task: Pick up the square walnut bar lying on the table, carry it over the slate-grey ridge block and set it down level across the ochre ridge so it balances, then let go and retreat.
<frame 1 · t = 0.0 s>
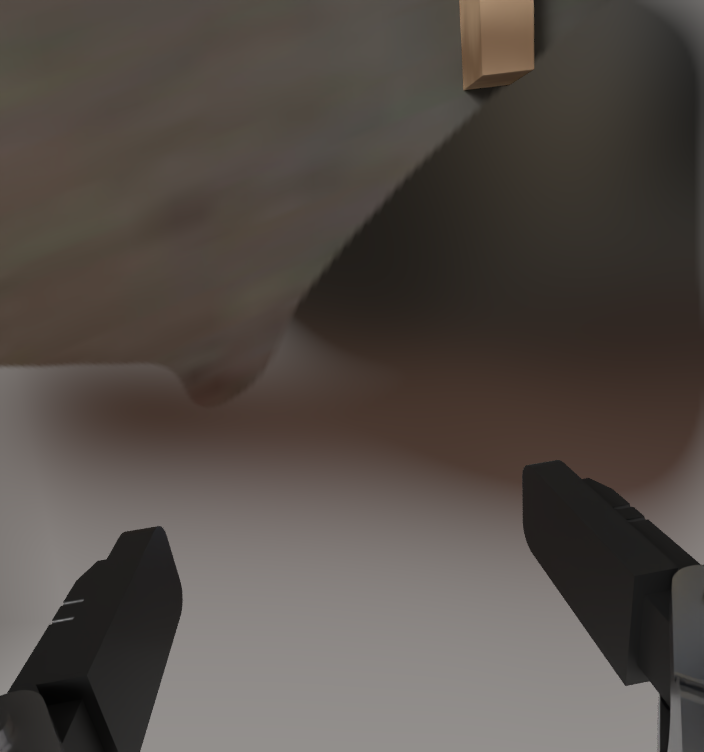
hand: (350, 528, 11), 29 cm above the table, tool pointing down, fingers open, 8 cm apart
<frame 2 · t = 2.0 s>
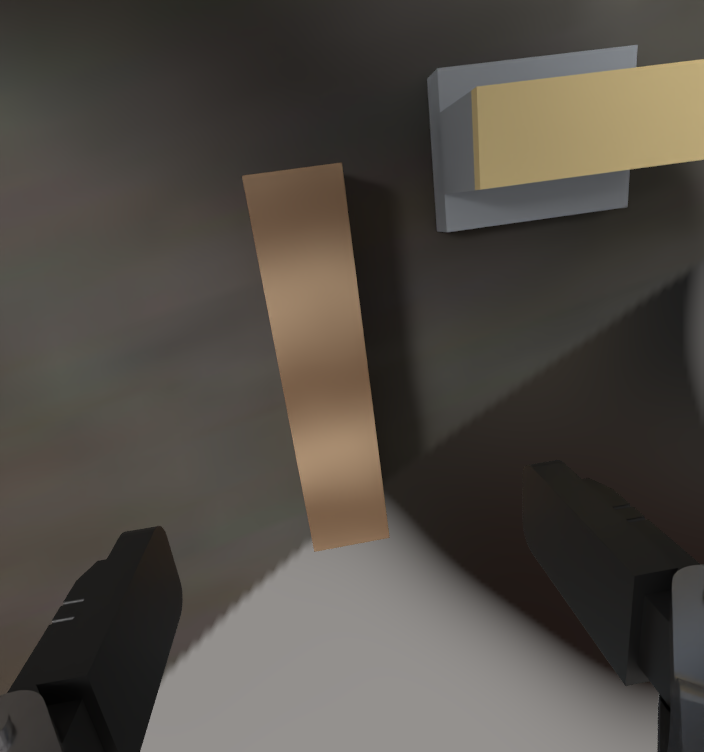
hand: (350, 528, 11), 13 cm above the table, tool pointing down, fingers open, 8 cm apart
walnut bar: (320, 355, 23), on the table
ridge block: (522, 147, 21), on the table
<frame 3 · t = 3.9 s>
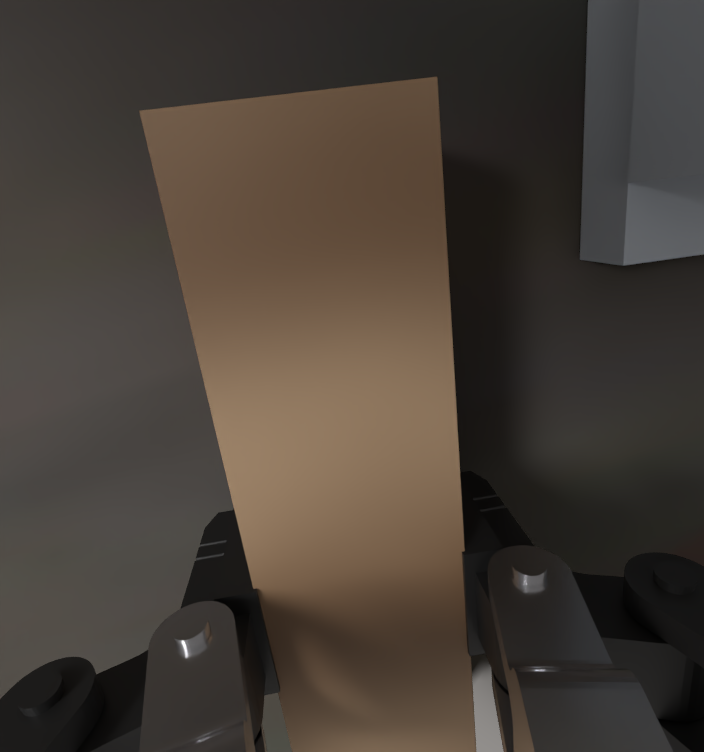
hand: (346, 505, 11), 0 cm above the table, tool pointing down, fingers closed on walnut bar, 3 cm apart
walnut bar: (346, 494, 12), on the table, touching gripper
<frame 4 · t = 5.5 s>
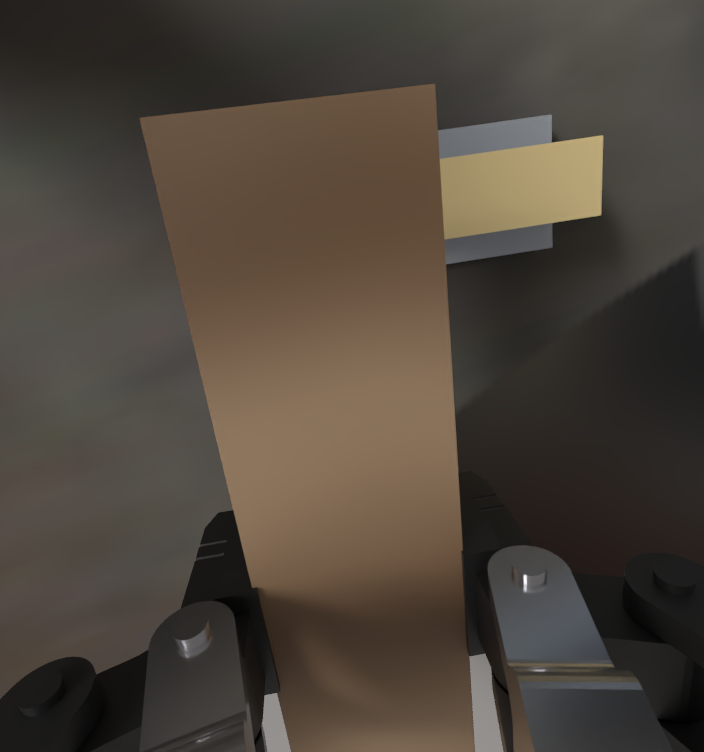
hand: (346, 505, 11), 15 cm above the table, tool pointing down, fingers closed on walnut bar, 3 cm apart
walnut bar: (345, 496, 12), point 15 cm above the table, touching gripper
ridge block: (461, 197, 24), on the table
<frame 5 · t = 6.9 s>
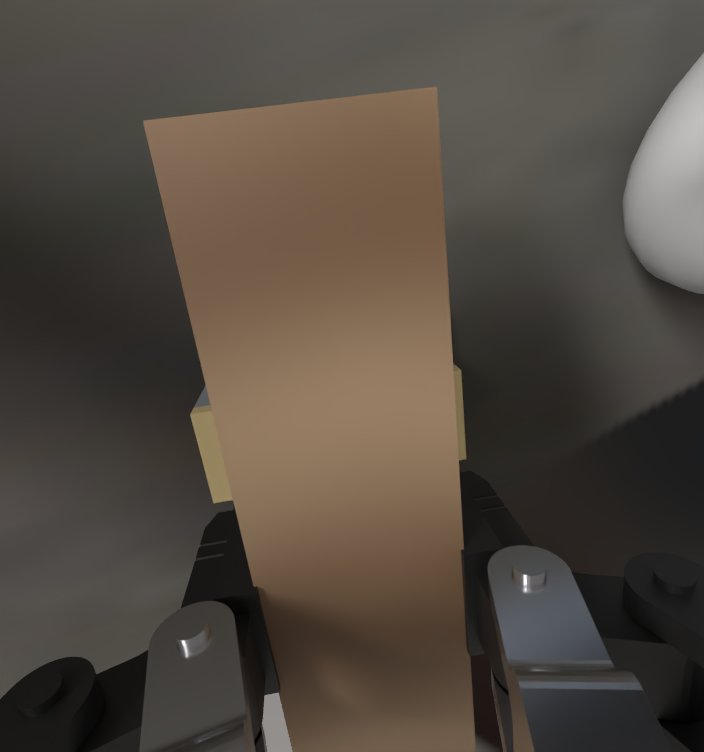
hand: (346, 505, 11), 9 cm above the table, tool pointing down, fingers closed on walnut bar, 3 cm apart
walnut bar: (346, 497, 12), point 8 cm above the table, touching gripper
ridge block: (324, 379, 20), on the table
donut: (656, 150, 18), on the table
when the fingers open (7 cm above the table, at t = 7.6 s): walnut bar stays where it is, resting on ridge block.
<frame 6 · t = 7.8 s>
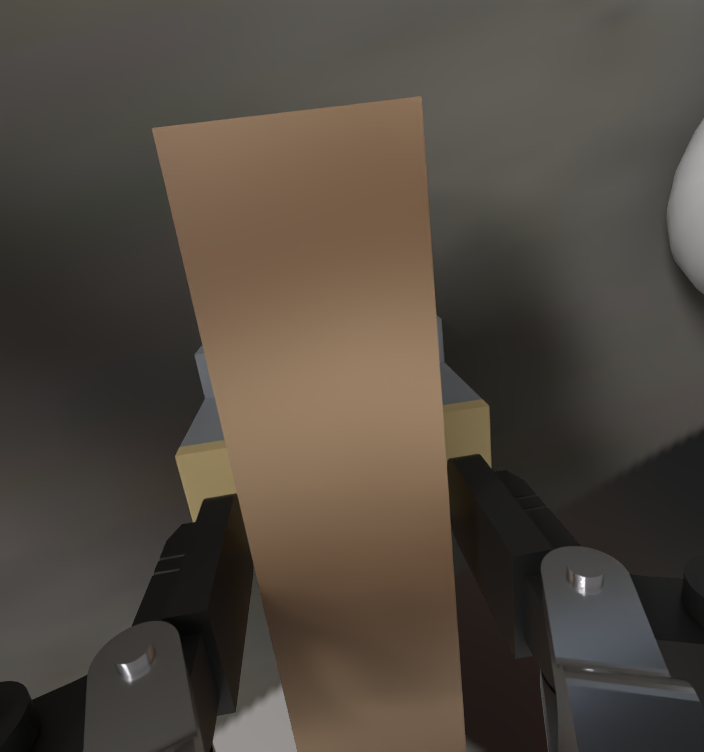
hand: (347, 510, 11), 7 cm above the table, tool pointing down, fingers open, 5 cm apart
walnut bar: (342, 485, 12), point 5 cm above the table, touching ridge block
ridge block: (329, 405, 18), on the table
donut: (701, 154, 17), on the table
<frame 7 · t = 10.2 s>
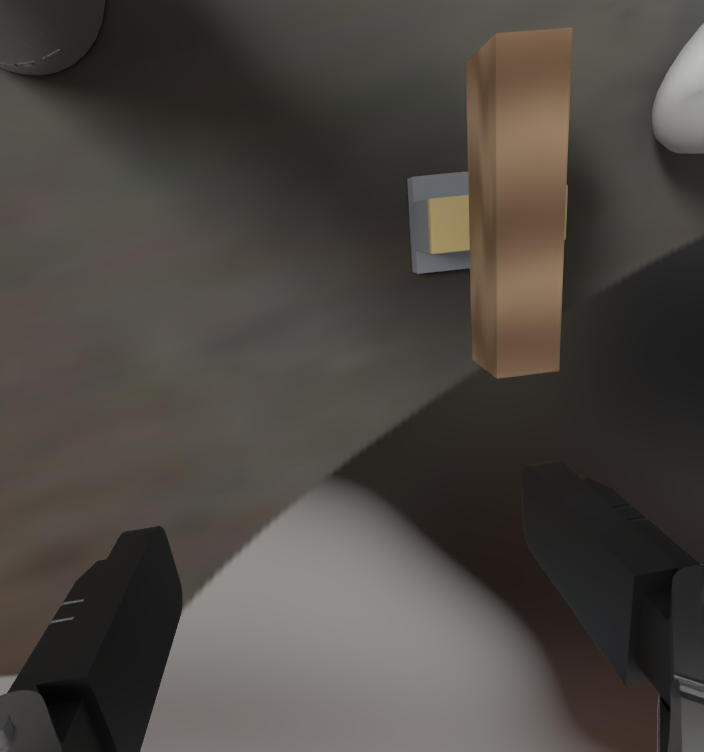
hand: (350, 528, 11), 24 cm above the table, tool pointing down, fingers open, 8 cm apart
walnut bar: (499, 221, 27), point 5 cm above the table, touching ridge block
ridge block: (467, 220, 32), on the table
donut: (671, 88, 31), on the table
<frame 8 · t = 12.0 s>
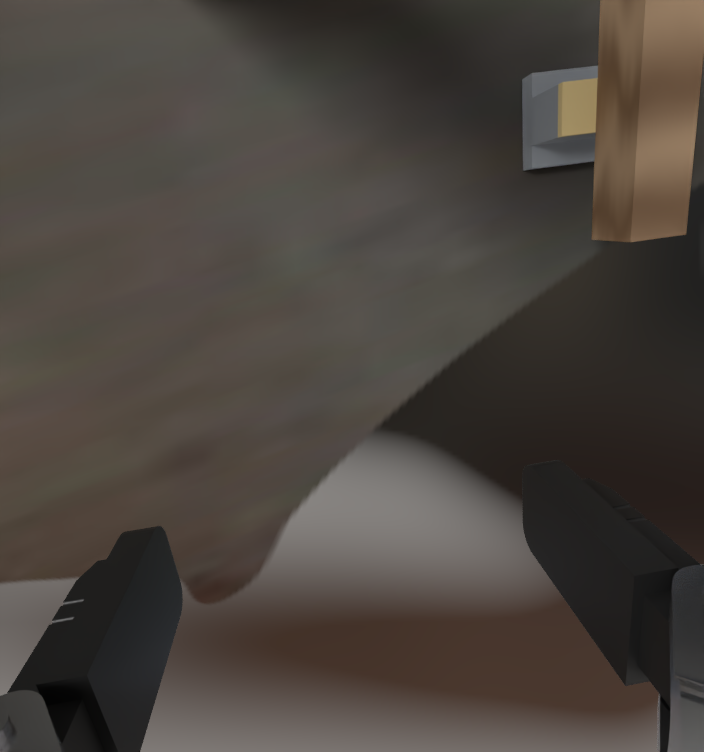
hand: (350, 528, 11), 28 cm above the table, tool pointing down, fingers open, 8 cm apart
walnut bar: (623, 103, 30), point 5 cm above the table, touching ridge block
ridge block: (575, 119, 35), on the table
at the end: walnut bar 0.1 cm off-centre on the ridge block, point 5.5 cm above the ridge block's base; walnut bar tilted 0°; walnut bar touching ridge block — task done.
